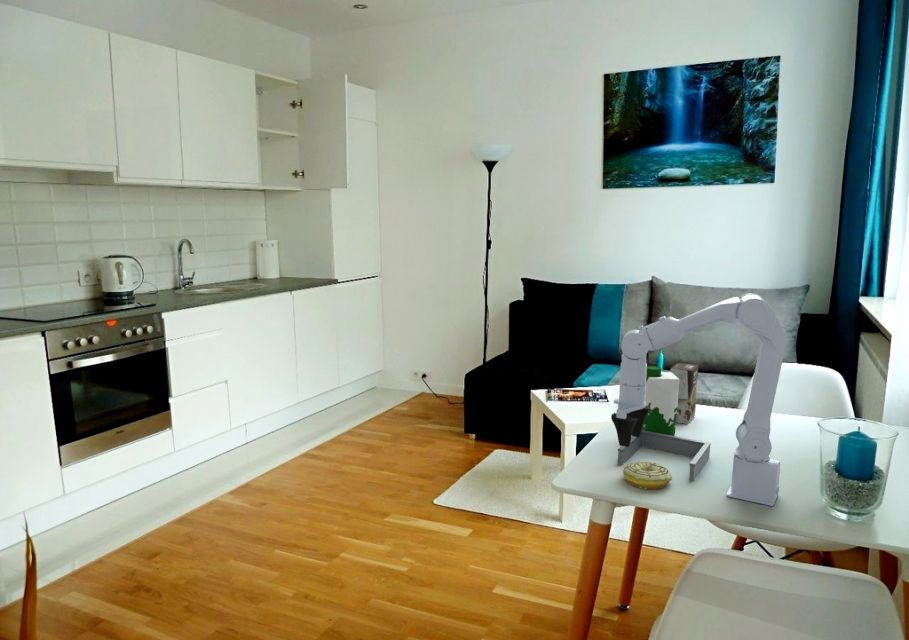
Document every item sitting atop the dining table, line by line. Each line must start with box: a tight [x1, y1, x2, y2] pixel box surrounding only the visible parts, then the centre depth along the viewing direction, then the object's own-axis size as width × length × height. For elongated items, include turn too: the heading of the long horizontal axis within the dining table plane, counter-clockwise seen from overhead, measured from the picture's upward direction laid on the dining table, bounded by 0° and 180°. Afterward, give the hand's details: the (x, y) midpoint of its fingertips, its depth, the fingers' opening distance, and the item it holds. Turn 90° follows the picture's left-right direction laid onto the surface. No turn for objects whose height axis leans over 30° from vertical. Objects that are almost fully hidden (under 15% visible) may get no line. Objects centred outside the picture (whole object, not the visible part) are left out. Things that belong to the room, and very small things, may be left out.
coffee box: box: [670, 362, 699, 425], centre depth 201 cm, size 9×6×16 cm
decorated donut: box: [622, 460, 673, 490], centre depth 156 cm, size 10×11×4 cm
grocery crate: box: [617, 430, 712, 482], centre depth 169 cm, size 18×17×4 cm
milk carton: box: [642, 365, 680, 436], centre depth 183 cm, size 9×9×20 cm
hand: (629, 440), depth 156 cm, fingers open, 7 cm apart
